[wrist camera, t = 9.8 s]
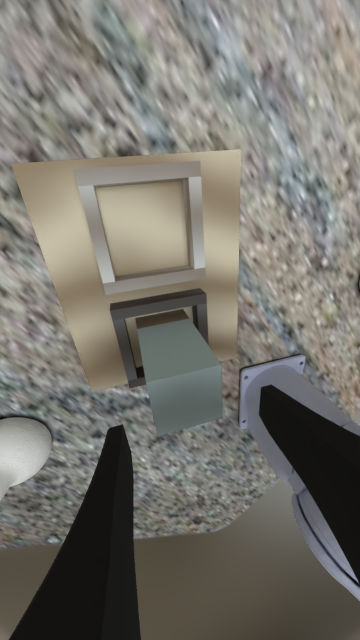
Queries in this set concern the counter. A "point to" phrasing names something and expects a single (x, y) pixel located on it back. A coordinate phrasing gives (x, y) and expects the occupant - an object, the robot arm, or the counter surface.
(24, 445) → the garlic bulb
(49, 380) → the counter surface
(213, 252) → the board
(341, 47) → the counter surface
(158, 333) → the banded peg
